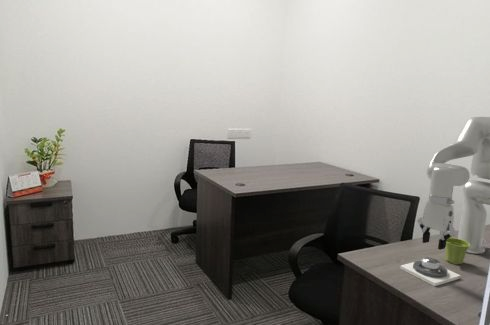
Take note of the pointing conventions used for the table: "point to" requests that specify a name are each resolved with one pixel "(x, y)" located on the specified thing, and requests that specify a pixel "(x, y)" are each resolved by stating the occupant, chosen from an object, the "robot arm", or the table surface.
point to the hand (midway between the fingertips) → (433, 245)
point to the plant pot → (456, 250)
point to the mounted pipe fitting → (430, 273)
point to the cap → (430, 264)
